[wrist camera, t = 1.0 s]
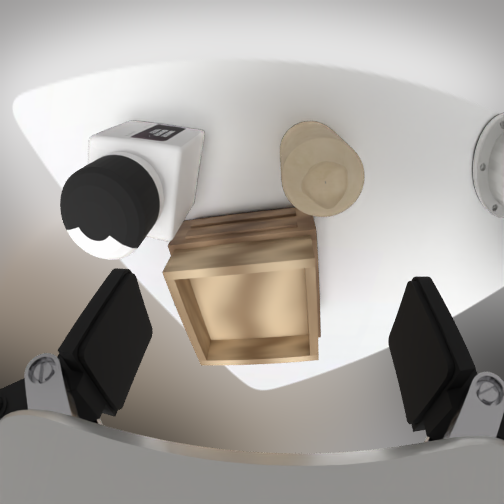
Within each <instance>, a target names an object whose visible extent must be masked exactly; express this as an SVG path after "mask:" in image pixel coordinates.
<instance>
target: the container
mask: <svg viewBox="0 0 504 504" xmlns="http://www.w3.org/2000/svg"><path fill="white" fill-rule="evenodd" d="M204 136H205V134H204V131H202V130H198V129H192V128H186V127H179V126H173V125H165V124H158V123H150V122H141V121H128V122H125V123H123V124H120V125H117V126H115V127H112V128H109V129H107V130H104V131H102V132H99V133H97V134H94V135H92V136H91V137H90V138H89V146H88V165H86V166H85V167H83V168H81V169H80V170H78V171H76V172H75V173H74V174H72V175H71V176H70V177H69V179H68V180H67V181H66V183H65V185H64V187H63V190H62V194H61V203H60V207H61V215H62V220H63V223H64V225H65V228H66V230H67V231H68V233H69V235H70V236H71V238H72V239H73V240H74V241H75V243H76V244H77V245H78V246H80V248H82V249H83V250H84V251H86V252H87V253H89V254H91V255H93V256H96V257H99V258H104V259H112V260H113V259H121V258H125V257H127V256H129V255H130V254H132V253H133V252H134V251H135V250H136V249H137V248H138V247H139V245H140V244H141V243H142V241H143V240H144V238H145V237H150V238H154V239H158V240H163V241H167V242H168V241H171V240H173V238H174V236H175V234H176V233H177V231H178V229H179V228H180V226H181V224H182V223H183V221H184V219H185V218H186V216H187V214H188V213H189V211H190V209H191V208H192V206H193V204H194V200H195V193H196V186H197V179H198V172H199V166H200V160H201V153H202V147H203V141H204Z"/></svg>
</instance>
